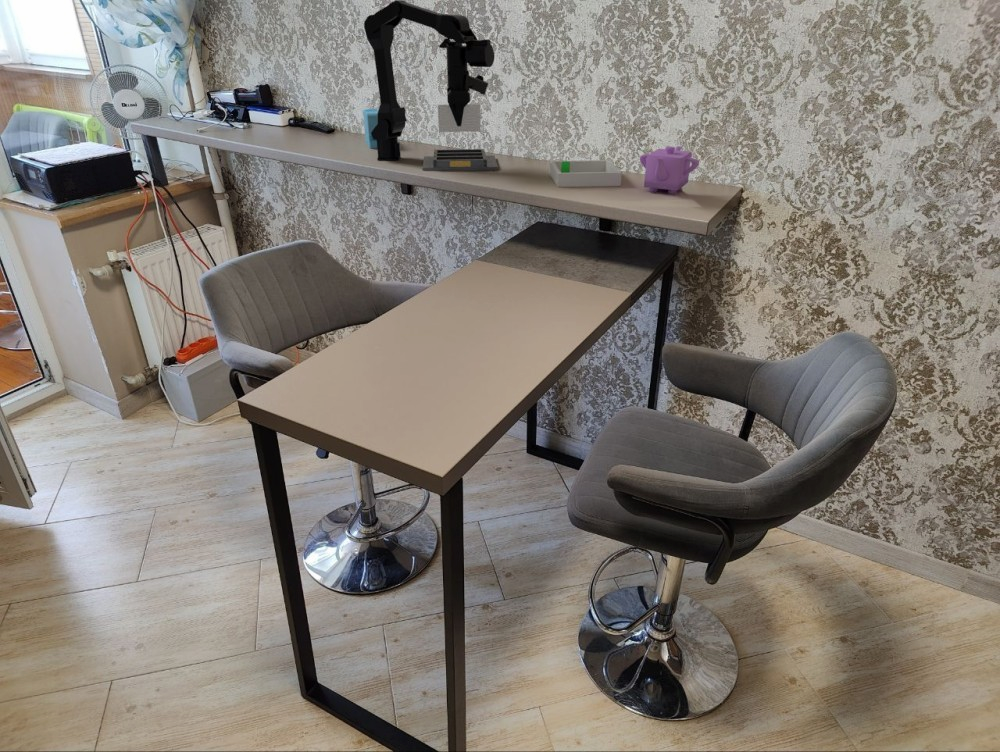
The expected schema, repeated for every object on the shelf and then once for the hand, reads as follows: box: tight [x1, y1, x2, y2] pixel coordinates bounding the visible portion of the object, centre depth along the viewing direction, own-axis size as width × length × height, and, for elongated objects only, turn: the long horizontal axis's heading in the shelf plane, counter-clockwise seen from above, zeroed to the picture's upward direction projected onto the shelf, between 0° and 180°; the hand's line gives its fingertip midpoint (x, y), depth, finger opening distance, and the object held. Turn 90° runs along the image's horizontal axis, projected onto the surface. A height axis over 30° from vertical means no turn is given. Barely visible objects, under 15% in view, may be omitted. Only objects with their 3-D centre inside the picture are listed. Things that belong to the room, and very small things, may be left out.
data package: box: [362, 108, 379, 150], centre depth 230 cm, size 12×4×12 cm, turn 17°
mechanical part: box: [561, 160, 571, 173], centre depth 184 cm, size 12×6×8 cm, turn 171°
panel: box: [437, 103, 481, 133], centre depth 197 cm, size 12×3×7 cm, turn 94°
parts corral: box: [548, 159, 623, 188], centre depth 190 cm, size 17×17×4 cm
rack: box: [421, 148, 499, 172], centre depth 208 cm, size 22×18×3 cm
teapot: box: [639, 145, 700, 195], centre depth 177 cm, size 15×13×11 cm
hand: (459, 125), depth 198 cm, fingers closed on panel, 3 cm apart
